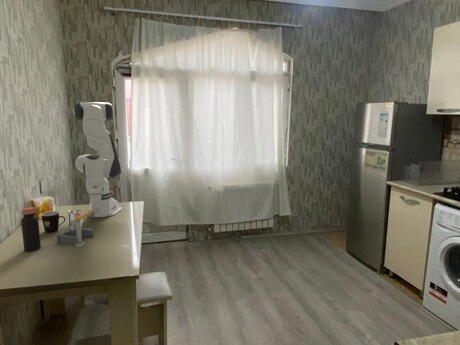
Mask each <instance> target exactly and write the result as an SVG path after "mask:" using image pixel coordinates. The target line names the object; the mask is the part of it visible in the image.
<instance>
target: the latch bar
mask: <svg viewBox="0 0 460 345" xmlns="http://www.w3.org/2000/svg"><path fill="white" fill-rule="evenodd" d="M89 215H90V216H89ZM86 217H89V218H96V217H95V211H94V210H90V211H88V210H87V211H86V212H84V213H82V215H80V216H77V217H75V221H81V219H82V220H83V219H84V218H86Z"/></svg>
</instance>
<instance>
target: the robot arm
mask: <svg viewBox="0 0 460 345" xmlns="http://www.w3.org/2000/svg"><path fill="white" fill-rule="evenodd" d="M72 113H73V116H74V118H75V119H76V120H77V121H78V122H82V129H83V131H82V132H83V133H84V135H85V137H86V143H87V145H88V147H89V148H92V149H93V150H95V151H97V152H98V153H94V154H93V153H91V154H89V153H88V154H82V155H78V157H76V159H75V167H76V169H77V170H78V171H79V172H81V173H82V174H83V175H84V177H86V179H85V189H86V192H87V194H88V195H89V199H90V200H89V208H88V209H89V211H90V210H94V211H95V217H94V218H105V217H111V216H116V215H117V214H118V213H119V212H120V211H122V210H123V207H122V206H119V202H118V200H116V199H115V198H113V197H112V195H114V191H110V182H109V180H108V178H114V179H115V178H118V177H119V176H121V174H122V171H123V170H122V168H123V167H122V164H121V161H120V157H118V151H117V149H116V148H117V147H116V144H115V142H114V138H113V135H112V133H111V132H110V131H108V130H107V129H106V125H105V121H106V123H108V122H109V121H112V120H113V119H114V117H115V108H114V107H113V105H112V104H111V103H110V102H99V101H94V102H93V101H91V102H90V101H89V102H77V103H75V104H74V105H73V109H72ZM88 217H90V215H88Z"/></svg>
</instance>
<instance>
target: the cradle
mask: <svg viewBox="0 0 460 345" xmlns="http://www.w3.org/2000/svg"><path fill="white" fill-rule="evenodd" d="M76 230H77V236H70V231H69V229H68V230H65V231H63V232H61V233H59V234H57V235H56V237H57V238H56V239H57V244H64V245H71V246H72V245H73V246H74V247H81V248H82V246H84V245H86V242H84V241H83V239H82V237H83V238H84V237H86V238H94V237H95V230H94V229H93V228H83V227H82V235H81V222H80V221H76Z"/></svg>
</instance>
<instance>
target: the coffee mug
mask: <svg viewBox="0 0 460 345" xmlns="http://www.w3.org/2000/svg"><path fill="white" fill-rule="evenodd" d="M40 217H41V220H42V224H43V228H44V233H45V234H54V233H56V232H58V231H59V227H60V226H61V225H63V224H64V223H65V221H66V217H65V216H64V215H60V211H58V210H57V211H56V210H55V211H54V210H53V211H46V212H45V211H44V212H43V213H41V214H40ZM60 218H63V221H62V222H61V223H60Z"/></svg>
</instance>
